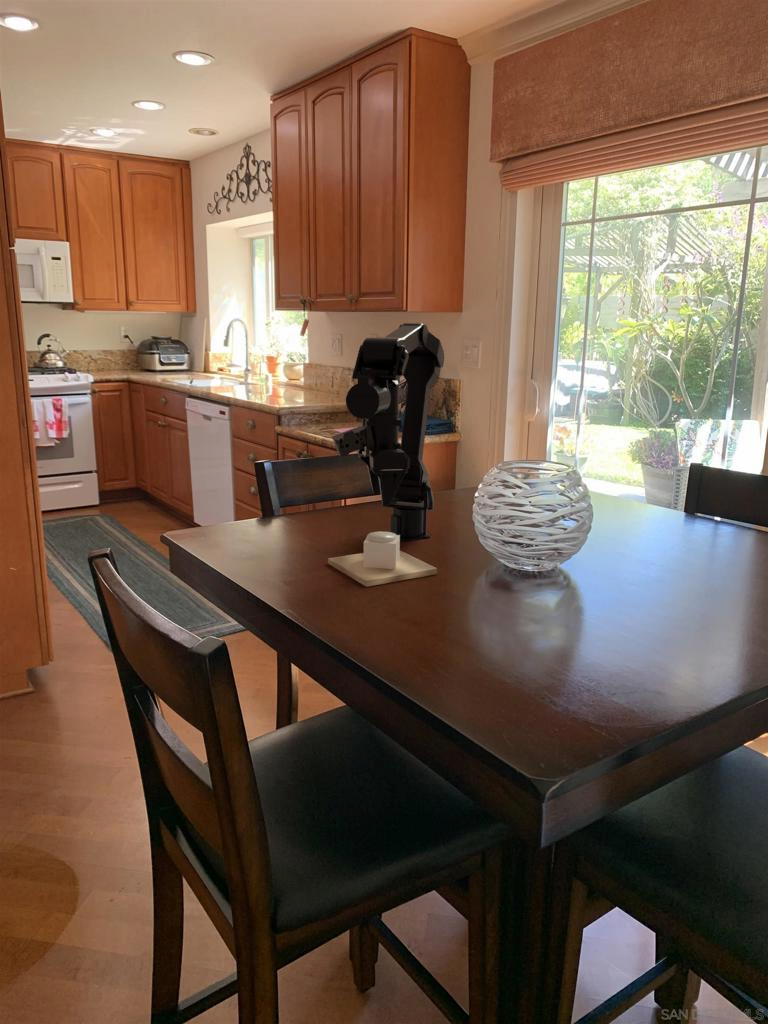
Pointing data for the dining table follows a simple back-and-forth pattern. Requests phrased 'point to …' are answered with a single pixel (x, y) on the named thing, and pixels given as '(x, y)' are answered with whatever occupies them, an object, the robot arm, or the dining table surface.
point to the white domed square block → (381, 550)
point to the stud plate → (381, 569)
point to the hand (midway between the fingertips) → (381, 500)
